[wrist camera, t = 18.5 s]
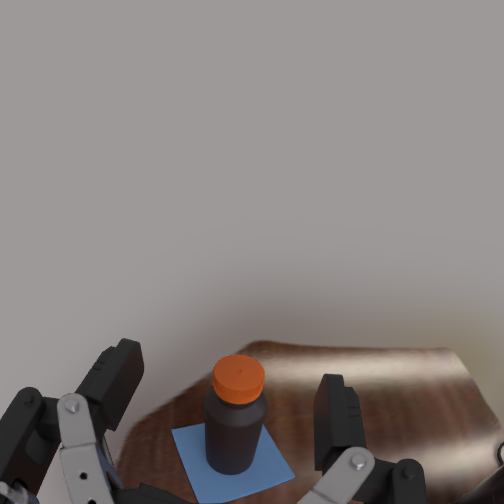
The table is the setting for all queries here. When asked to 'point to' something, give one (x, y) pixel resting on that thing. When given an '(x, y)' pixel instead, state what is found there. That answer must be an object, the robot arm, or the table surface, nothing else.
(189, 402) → the table surface
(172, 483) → the table surface
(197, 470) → the blue mat
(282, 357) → the table surface
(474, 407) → the table surface
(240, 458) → the bottle
